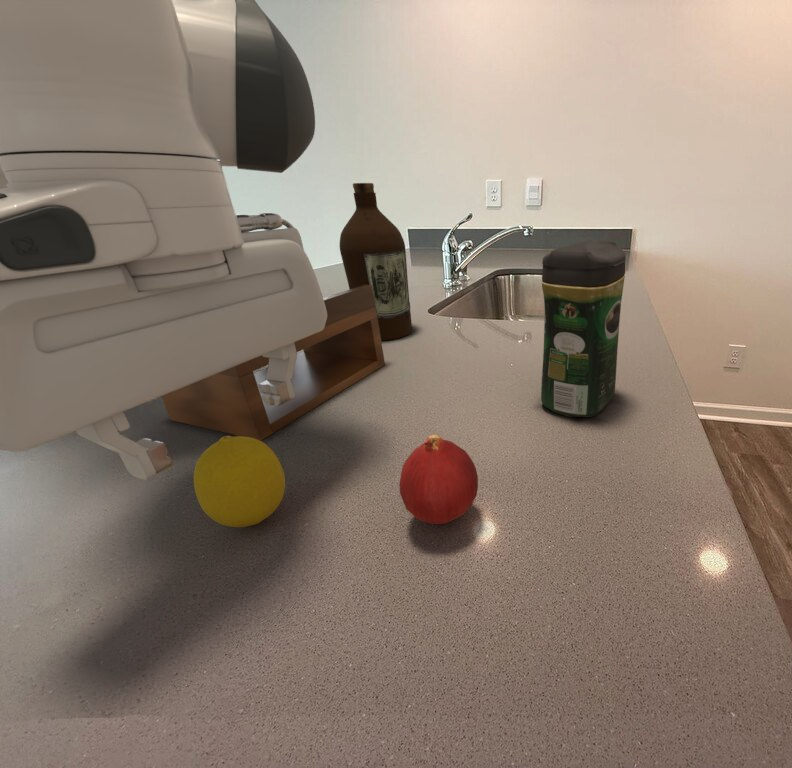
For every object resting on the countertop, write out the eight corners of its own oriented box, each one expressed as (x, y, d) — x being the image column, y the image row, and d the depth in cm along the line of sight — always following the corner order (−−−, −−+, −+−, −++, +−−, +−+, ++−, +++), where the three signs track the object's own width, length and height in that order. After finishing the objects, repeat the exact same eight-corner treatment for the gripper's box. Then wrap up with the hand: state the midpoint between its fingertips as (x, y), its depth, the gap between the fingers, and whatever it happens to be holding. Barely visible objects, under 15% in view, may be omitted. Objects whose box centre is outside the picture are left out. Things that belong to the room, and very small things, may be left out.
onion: (412, 497, 35) (399, 416, 31) (479, 492, 35) (474, 411, 32) (401, 552, 29) (383, 461, 26) (481, 545, 30) (474, 455, 26)
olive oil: (346, 333, 76) (316, 184, 65) (397, 321, 82) (377, 183, 72) (373, 346, 69) (344, 182, 58) (426, 332, 75) (409, 182, 65)
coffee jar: (564, 379, 55) (569, 235, 47) (621, 392, 52) (637, 238, 44) (529, 410, 48) (529, 245, 40) (593, 427, 44) (607, 249, 36)
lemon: (239, 562, 29) (200, 470, 25) (202, 531, 31) (162, 445, 28) (310, 514, 33) (284, 430, 30) (271, 490, 36) (244, 411, 32)
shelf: (171, 420, 47) (127, 320, 42) (312, 354, 66) (294, 280, 61) (260, 441, 43) (224, 332, 38) (385, 364, 62) (372, 284, 56)
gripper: (261, 211, 32) (304, 370, 38) (-210, 238, 15) (0, 520, 21) (324, 210, 31) (359, 378, 36) (-135, 239, 13) (73, 551, 19)
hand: (225, 431), depth 29 cm, fingers open, 8 cm apart
